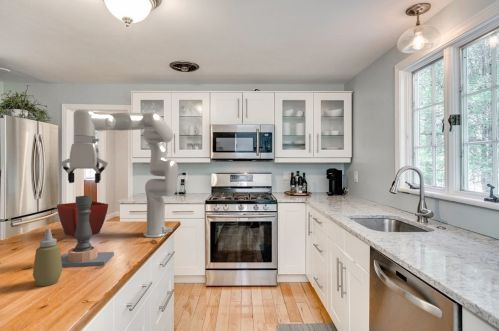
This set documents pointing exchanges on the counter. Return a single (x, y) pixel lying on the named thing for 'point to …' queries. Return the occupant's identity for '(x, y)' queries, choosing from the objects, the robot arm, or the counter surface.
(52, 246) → the squeeze bottle
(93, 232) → the plant pot
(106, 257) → the socket board
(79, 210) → the candle holder
